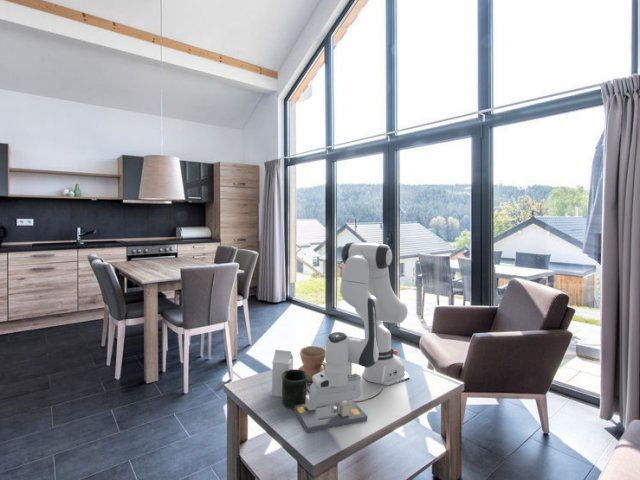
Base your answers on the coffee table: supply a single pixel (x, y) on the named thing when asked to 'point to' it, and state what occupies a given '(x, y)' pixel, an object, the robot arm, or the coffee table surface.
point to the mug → (294, 388)
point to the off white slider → (309, 404)
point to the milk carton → (280, 370)
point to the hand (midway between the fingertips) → (334, 411)
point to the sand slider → (344, 409)
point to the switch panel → (328, 416)
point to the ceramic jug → (312, 361)
